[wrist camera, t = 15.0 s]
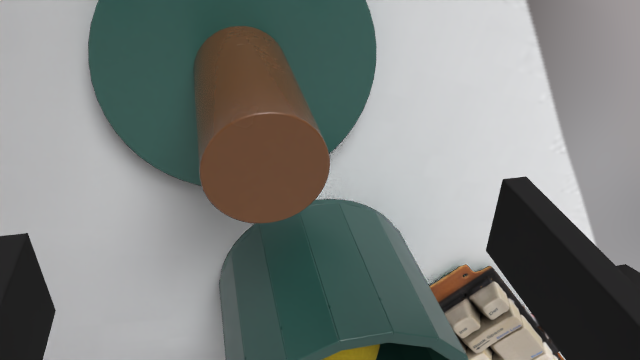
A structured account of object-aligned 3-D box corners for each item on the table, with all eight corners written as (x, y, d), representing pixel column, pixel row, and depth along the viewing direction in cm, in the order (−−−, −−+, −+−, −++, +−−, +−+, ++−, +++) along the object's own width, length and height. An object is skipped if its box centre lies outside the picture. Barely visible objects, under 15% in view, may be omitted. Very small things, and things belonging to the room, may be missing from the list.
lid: (58, -88, 21) (-19, -33, 13) (379, -91, 24) (487, -47, 15) (121, 190, 29) (98, 338, 20) (361, 164, 31) (428, 287, 23)
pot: (210, 211, 31) (223, 360, 22) (414, 188, 33) (496, 314, 24) (227, 353, 37) (242, 509, 29) (395, 325, 40) (454, 462, 31)
